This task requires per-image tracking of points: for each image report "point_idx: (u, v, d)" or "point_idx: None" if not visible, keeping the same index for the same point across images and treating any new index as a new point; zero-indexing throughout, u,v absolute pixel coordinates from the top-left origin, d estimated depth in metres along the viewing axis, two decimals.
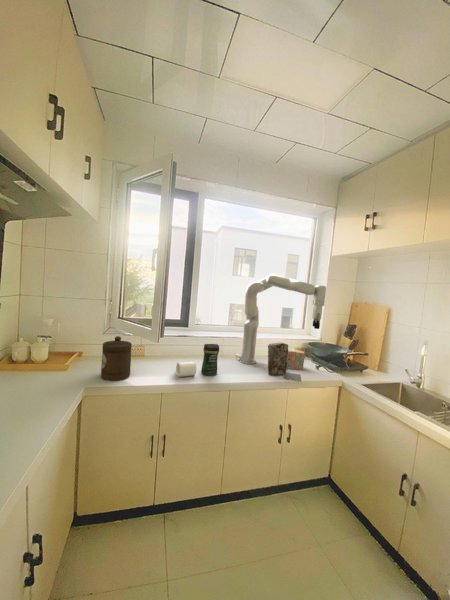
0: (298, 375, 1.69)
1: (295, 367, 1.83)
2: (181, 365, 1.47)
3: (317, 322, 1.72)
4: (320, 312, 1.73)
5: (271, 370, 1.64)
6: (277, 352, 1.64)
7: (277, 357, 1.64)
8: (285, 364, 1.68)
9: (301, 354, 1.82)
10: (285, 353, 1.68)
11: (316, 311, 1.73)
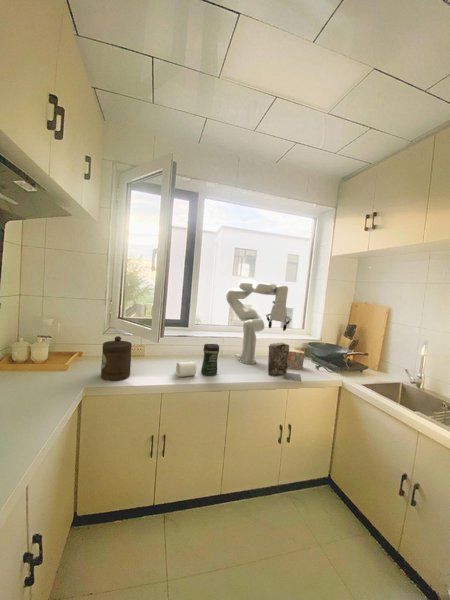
0: (298, 375, 1.69)
1: (295, 367, 1.84)
2: (181, 365, 1.47)
3: (286, 324, 1.68)
4: (286, 313, 1.70)
5: (271, 370, 1.63)
6: (278, 353, 1.63)
7: (278, 358, 1.64)
8: (285, 364, 1.68)
9: (301, 354, 1.83)
10: (286, 354, 1.67)
11: (285, 313, 1.67)
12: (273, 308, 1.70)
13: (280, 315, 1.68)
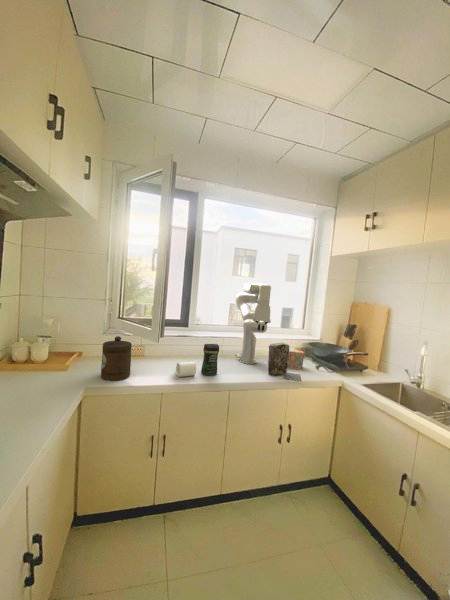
0: (298, 375, 1.69)
1: (294, 367, 1.84)
2: (181, 365, 1.47)
3: (265, 324, 1.68)
4: None
5: (271, 370, 1.63)
6: (278, 353, 1.63)
7: (278, 358, 1.64)
8: (285, 364, 1.68)
9: (300, 354, 1.83)
10: (286, 354, 1.67)
11: None
12: (257, 308, 1.66)
13: (265, 315, 1.65)
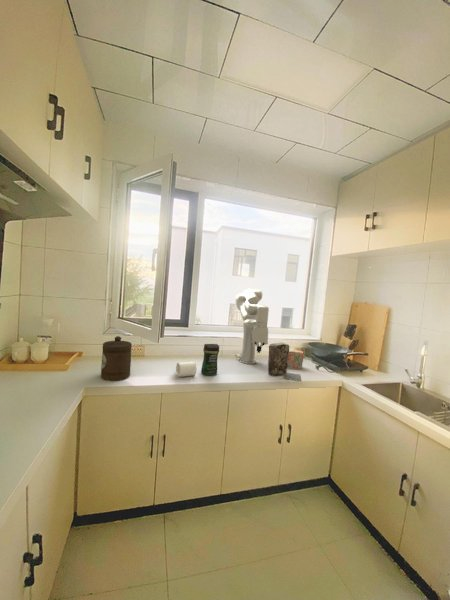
0: (298, 375, 1.69)
1: (294, 367, 1.84)
2: (181, 365, 1.47)
3: None
4: None
5: (271, 370, 1.63)
6: (278, 353, 1.63)
7: (278, 358, 1.64)
8: (285, 364, 1.68)
9: (300, 354, 1.83)
10: (286, 354, 1.67)
11: None
12: (255, 329, 1.67)
13: (262, 336, 1.66)
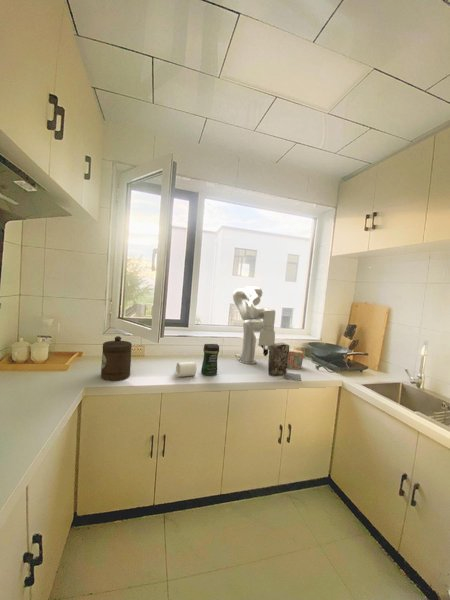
0: (298, 375, 1.69)
1: (294, 367, 1.84)
2: (181, 365, 1.47)
3: (268, 349, 1.68)
4: None
5: (271, 370, 1.63)
6: (278, 353, 1.63)
7: (278, 358, 1.63)
8: (285, 364, 1.68)
9: (300, 354, 1.83)
10: (286, 354, 1.67)
11: (274, 337, 1.65)
12: (262, 333, 1.66)
13: (269, 340, 1.65)
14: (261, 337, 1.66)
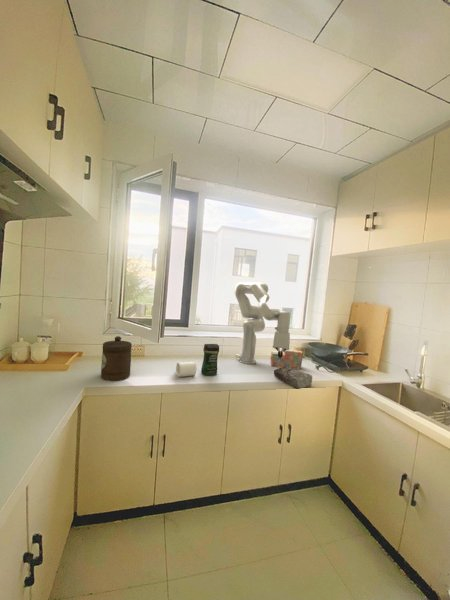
0: None
1: (293, 367, 1.84)
2: (181, 365, 1.47)
3: (283, 351, 1.66)
4: None
5: (277, 376, 1.59)
6: None
7: None
8: None
9: (299, 354, 1.83)
10: None
11: (289, 339, 1.64)
12: (276, 335, 1.64)
13: (284, 342, 1.63)
14: (276, 339, 1.64)
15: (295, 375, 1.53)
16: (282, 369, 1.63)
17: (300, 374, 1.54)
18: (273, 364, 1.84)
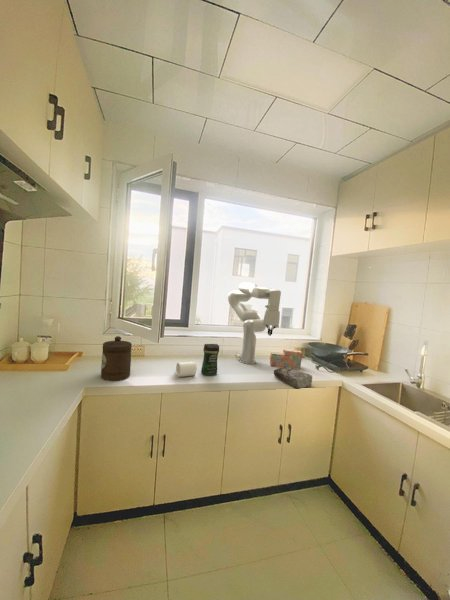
0: None
1: (293, 367, 1.84)
2: (181, 365, 1.47)
3: None
4: None
5: (277, 376, 1.59)
6: None
7: None
8: None
9: (298, 353, 1.83)
10: None
11: (279, 317, 1.68)
12: (267, 312, 1.68)
13: (274, 319, 1.67)
14: (266, 317, 1.68)
15: (295, 375, 1.53)
16: (282, 369, 1.63)
17: (300, 374, 1.54)
18: (272, 364, 1.84)
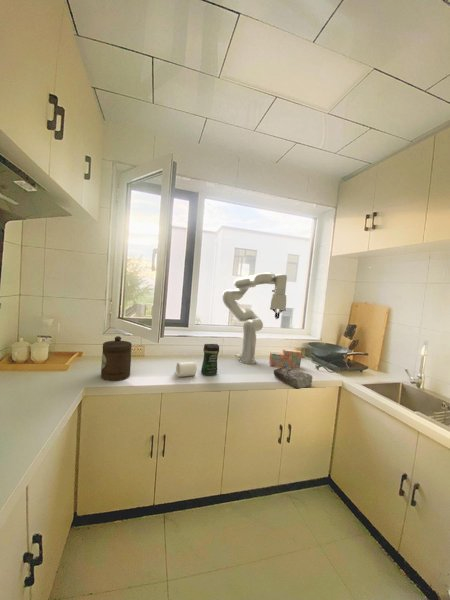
0: None
1: (292, 366, 1.84)
2: (181, 365, 1.47)
3: (280, 312, 1.75)
4: None
5: (277, 376, 1.59)
6: None
7: None
8: None
9: (298, 353, 1.83)
10: None
11: None
12: (274, 296, 1.73)
13: (281, 303, 1.72)
14: (273, 301, 1.73)
15: (295, 375, 1.53)
16: (282, 369, 1.63)
17: (300, 374, 1.54)
18: (272, 364, 1.84)
